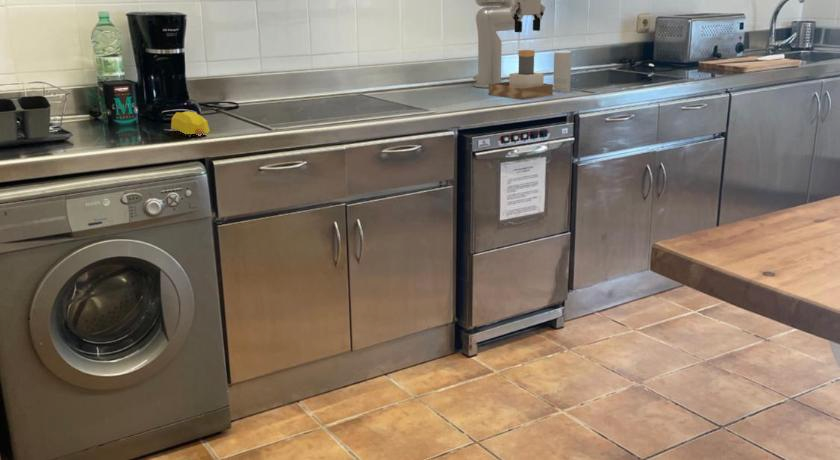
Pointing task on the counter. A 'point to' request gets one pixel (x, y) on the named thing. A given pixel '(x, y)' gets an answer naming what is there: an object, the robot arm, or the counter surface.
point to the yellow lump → (189, 123)
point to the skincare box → (562, 71)
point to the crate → (520, 91)
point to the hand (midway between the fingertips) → (527, 31)
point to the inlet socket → (525, 80)
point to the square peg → (526, 62)
